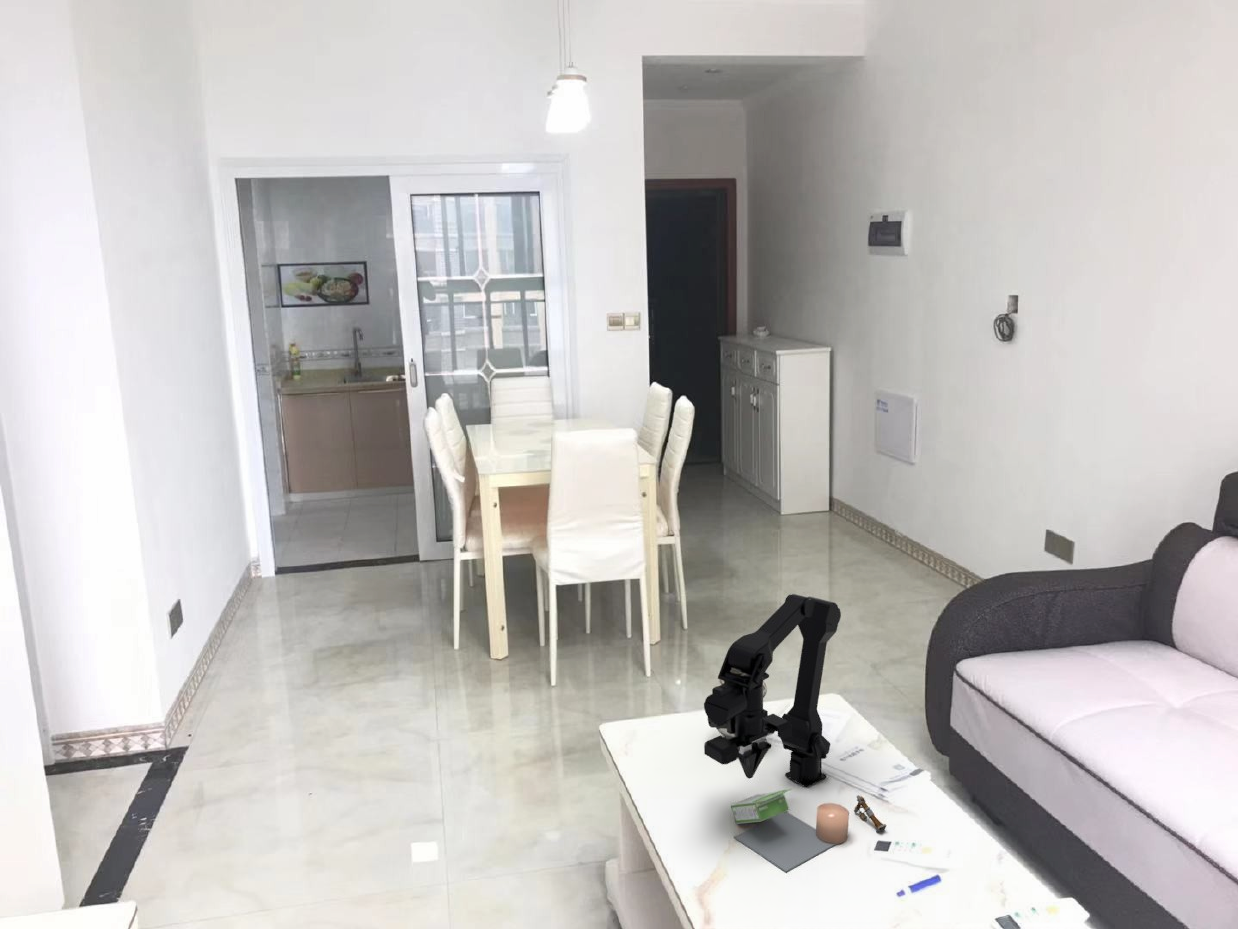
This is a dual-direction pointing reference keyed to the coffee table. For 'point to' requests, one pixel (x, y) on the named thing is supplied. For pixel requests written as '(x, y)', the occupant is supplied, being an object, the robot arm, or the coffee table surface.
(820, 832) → the peach pillar candle
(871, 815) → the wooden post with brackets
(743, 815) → the ink box
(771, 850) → the slate mat
